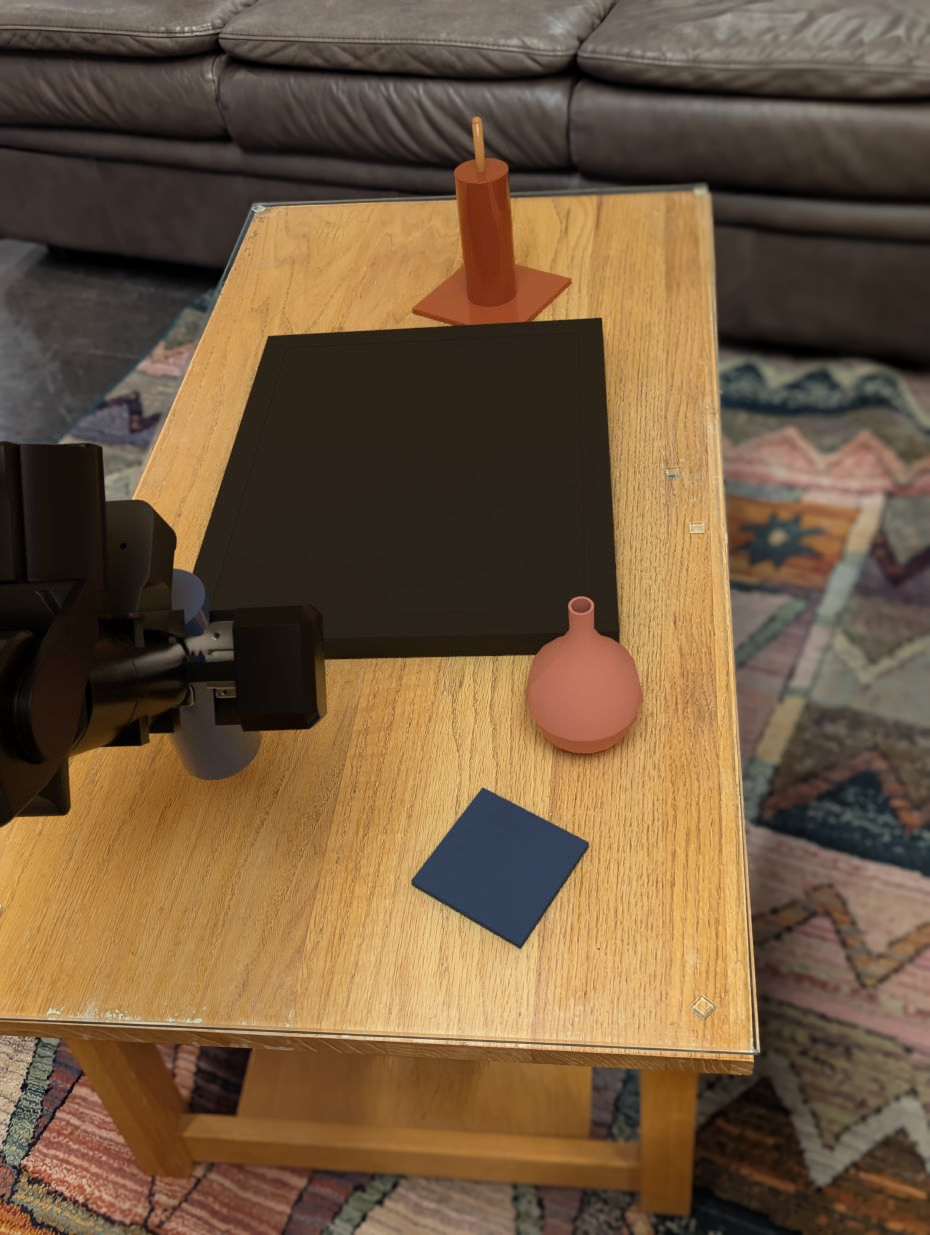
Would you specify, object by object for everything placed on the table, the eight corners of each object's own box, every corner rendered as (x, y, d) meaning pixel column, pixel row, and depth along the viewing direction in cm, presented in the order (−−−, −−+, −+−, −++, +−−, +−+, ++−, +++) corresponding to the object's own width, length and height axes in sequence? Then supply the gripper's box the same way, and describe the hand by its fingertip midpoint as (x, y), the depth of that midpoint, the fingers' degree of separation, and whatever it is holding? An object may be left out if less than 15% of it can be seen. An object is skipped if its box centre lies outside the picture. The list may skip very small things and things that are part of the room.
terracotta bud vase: (662, 745, 72) (669, 624, 63) (560, 789, 70) (554, 672, 62) (605, 667, 77) (605, 545, 68) (509, 707, 75) (496, 587, 67)
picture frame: (179, 662, 81) (619, 653, 78) (170, 641, 80) (619, 631, 76) (273, 356, 109) (602, 338, 105) (268, 335, 107) (602, 317, 103)
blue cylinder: (222, 794, 64) (155, 651, 55) (161, 758, 67) (88, 615, 57) (279, 734, 67) (225, 588, 58) (219, 701, 69) (157, 555, 60)
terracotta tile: (509, 341, 106) (509, 336, 106) (412, 313, 112) (411, 308, 111) (571, 283, 113) (571, 278, 112) (476, 258, 118) (476, 253, 117)
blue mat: (520, 949, 63) (520, 945, 63) (411, 885, 67) (410, 880, 66) (589, 847, 67) (589, 841, 67) (483, 791, 71) (482, 786, 70)
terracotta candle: (499, 311, 109) (484, 133, 96) (457, 299, 111) (437, 124, 98) (526, 286, 112) (515, 110, 99) (484, 275, 114) (469, 101, 101)
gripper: (273, 492, 46) (346, 514, 62) (-135, 515, 48) (35, 530, 64) (286, 749, 47) (355, 707, 62) (-119, 762, 49) (46, 718, 64)
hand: (196, 660), depth 63 cm, fingers closed on blue cylinder, 5 cm apart
